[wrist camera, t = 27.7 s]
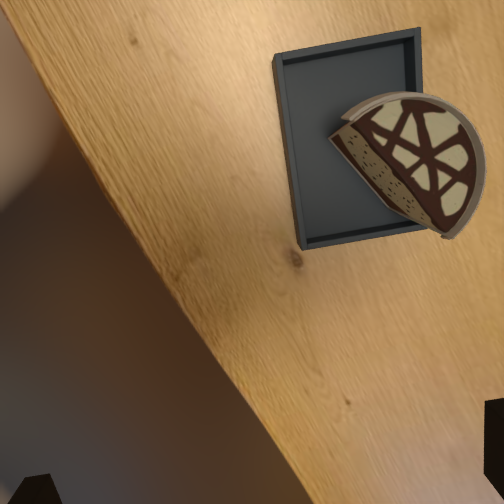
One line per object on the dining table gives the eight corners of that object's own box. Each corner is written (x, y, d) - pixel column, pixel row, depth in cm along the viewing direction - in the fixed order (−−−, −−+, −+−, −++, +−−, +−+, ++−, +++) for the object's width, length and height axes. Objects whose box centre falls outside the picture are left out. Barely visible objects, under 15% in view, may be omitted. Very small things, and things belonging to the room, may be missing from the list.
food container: (447, 175, 34) (529, 184, 24) (397, 219, 35) (457, 244, 25) (368, 75, 31) (424, 40, 22) (316, 126, 32) (349, 114, 23)
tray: (297, 243, 36) (301, 251, 34) (271, 62, 32) (274, 53, 29) (414, 223, 36) (428, 228, 33) (405, 37, 31) (421, 26, 29)
